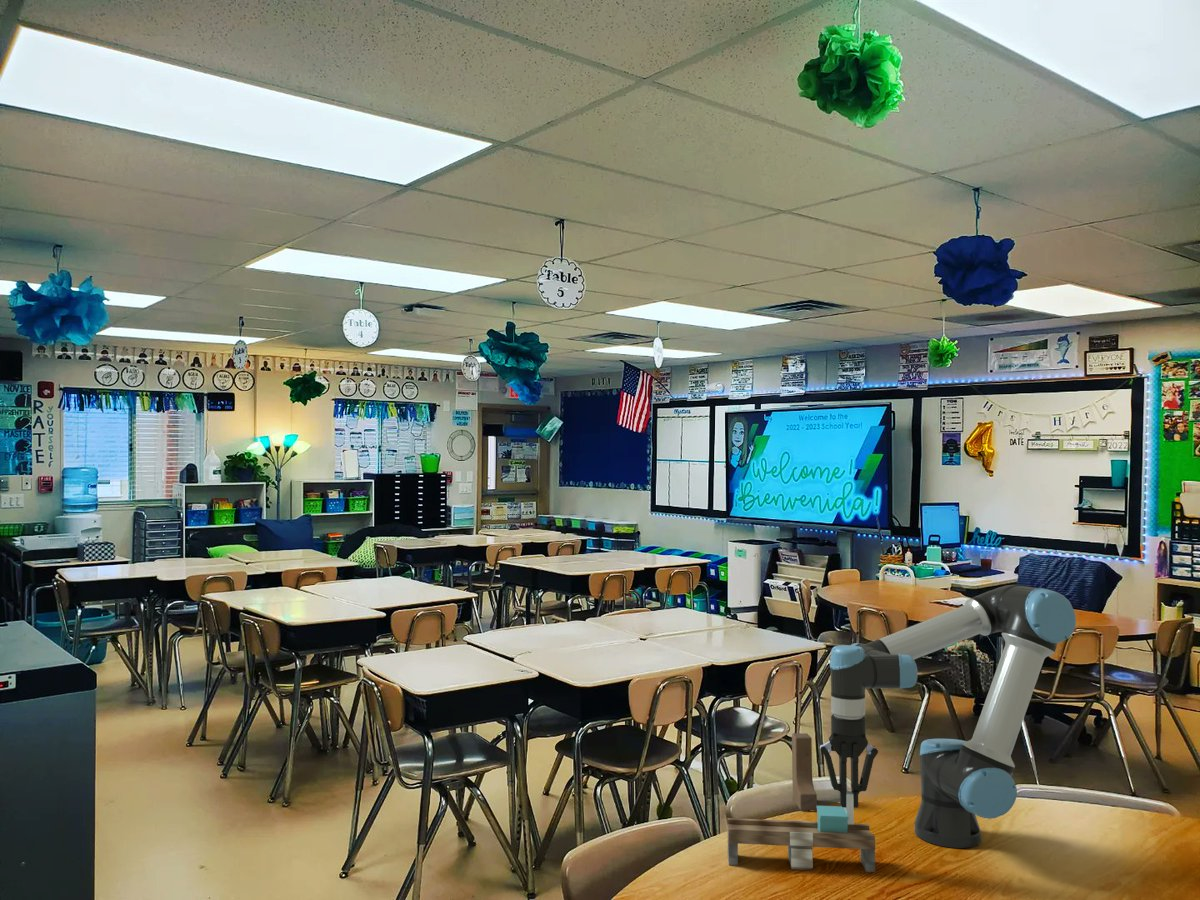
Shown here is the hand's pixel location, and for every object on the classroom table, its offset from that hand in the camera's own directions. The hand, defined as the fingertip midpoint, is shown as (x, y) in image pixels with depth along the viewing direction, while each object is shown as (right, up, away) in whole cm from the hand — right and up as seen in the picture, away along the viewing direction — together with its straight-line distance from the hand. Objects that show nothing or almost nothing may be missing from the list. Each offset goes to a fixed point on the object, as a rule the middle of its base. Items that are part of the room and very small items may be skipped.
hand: (849, 821), depth 191 cm
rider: (-4, -2, 0) cm, 4 cm away
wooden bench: (-11, -10, +1) cm, 15 cm away
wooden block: (-1, -12, +38) cm, 40 cm away
